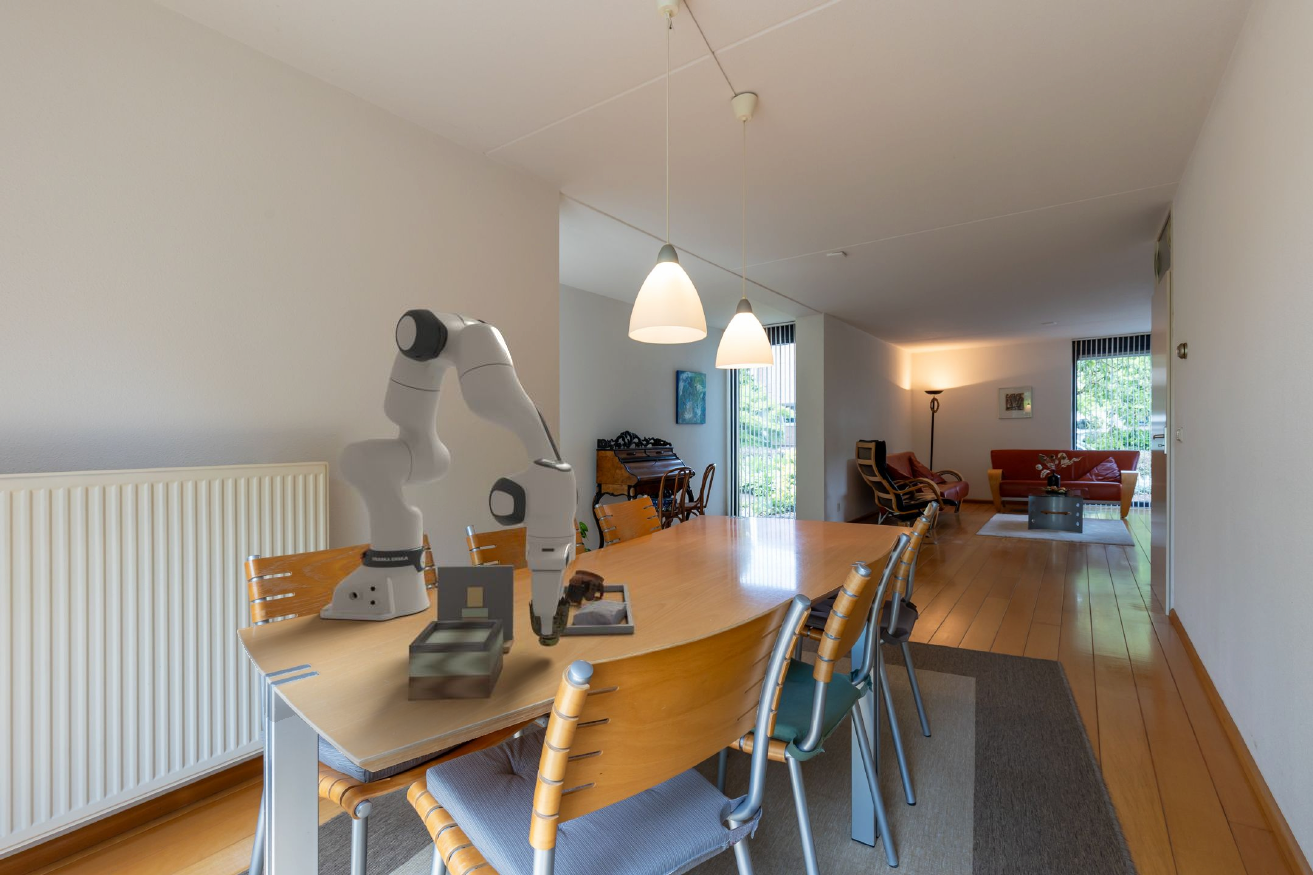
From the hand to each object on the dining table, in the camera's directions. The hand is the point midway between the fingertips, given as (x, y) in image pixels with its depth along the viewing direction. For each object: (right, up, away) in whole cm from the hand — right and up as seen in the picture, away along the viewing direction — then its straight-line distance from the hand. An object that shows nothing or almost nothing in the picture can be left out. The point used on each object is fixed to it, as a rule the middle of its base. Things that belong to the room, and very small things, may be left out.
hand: (549, 625), depth 108 cm
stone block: (+7, -6, +21) cm, 23 cm away
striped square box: (-12, -6, -12) cm, 18 cm away
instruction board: (-15, -6, +4) cm, 16 cm away
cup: (0, -4, 0) cm, 4 cm away
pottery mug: (+2, -6, +37) cm, 37 cm away
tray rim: (+5, -6, +29) cm, 30 cm away
